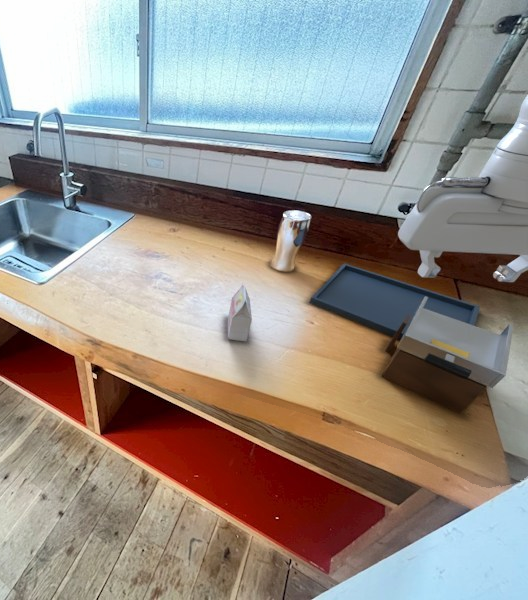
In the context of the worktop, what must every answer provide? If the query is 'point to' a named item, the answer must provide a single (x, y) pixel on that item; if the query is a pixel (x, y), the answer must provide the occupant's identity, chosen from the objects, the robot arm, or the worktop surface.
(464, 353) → the yellow block
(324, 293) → the tray
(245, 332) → the grey boxy piece
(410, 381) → the stand
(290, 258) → the silver metal vase
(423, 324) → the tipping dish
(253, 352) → the worktop surface
